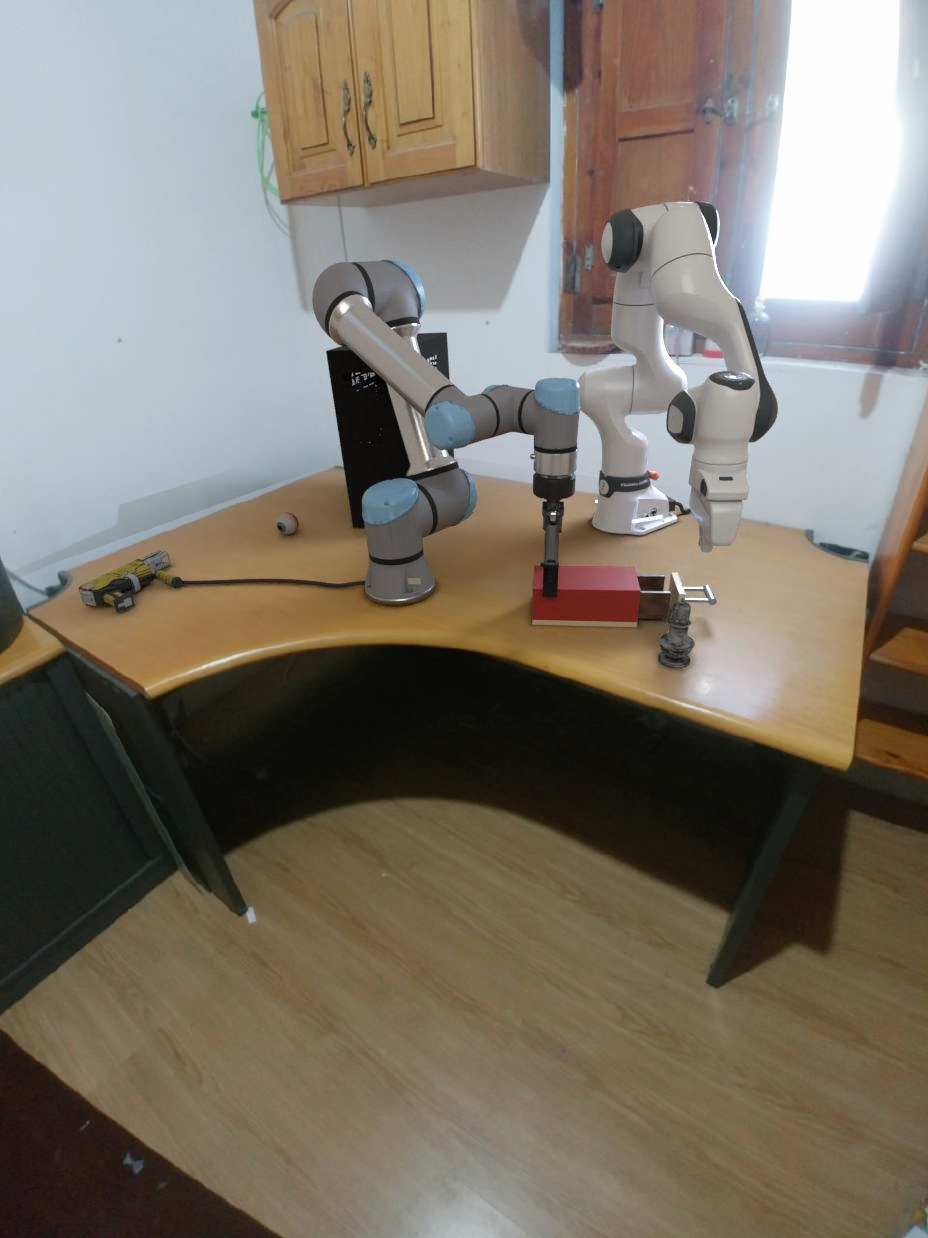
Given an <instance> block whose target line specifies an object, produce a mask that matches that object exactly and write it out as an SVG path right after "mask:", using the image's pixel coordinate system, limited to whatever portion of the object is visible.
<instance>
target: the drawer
mask: <svg viewBox="0 0 928 1238" xmlns="http://www.w3.org/2000/svg"><path fill="white" fill-rule="evenodd" d="M636 574H637V573H636ZM637 578H638V582H639V586H640V590H641V593H640V603H639V612H638V619H653V620H654V619H657V620H659V619H661V620H668V619H669V618H668V617H669V611H671V612H672V607H673V604H674V603H676V602H679V601H681V599H682V598H684V599H685V601H684V602H687V603H702V604H703V603H706V604H709V606H715V605H716V604H717V601H718V600H717V598H716V596H715V593H714V592H713V590H712V588H711V586H710V584H705V585H703V586H683V583H682V580H681V577H680V575H679V572H677V571H675V572H673V571H671V572H670V579H669V586H668V591H667V590H665V591H664V588H665V581H666V575H665V574H637ZM686 592H703V595H704V597H705V598H703V597H700V598H698V597H695V598H694V597H686V596H687V593H686ZM669 608H670V609H669Z"/></svg>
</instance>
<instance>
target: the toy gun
mask: <svg viewBox="0 0 928 1238" xmlns="http://www.w3.org/2000/svg"><path fill="white" fill-rule="evenodd" d="M166 558H167V559H168V562H167V561H163V559H166ZM171 564H172V563H171V558H170V554H169V552H168V551H166V550H163V551H162V550H161V549H159V550H156V551H155V552H153V553H150V554H148V555H145V556H143V557H142V558H136V559H135V560H133V561H130V562H129V563H126V564H124V565H122V566H120V567H118V568H115V569H113V570H111V571H109V572H107V573H104V574H102V575H101V576H97V577H96V578H93V579H91V580H89V581H87V582H85V583H83V584H81V585H79V586H78V592H79V595H80V599H81V602H82V603H83V604H84V605H85V607H89V608H93V607H105V606H108V605H111V606H112V607H114V610H115V613H116V614H119V613H122V612H124V611H127V610H129V609H131V608H134V607H136V606H135V605H136V604H135V601H134V596H133V595H134V594H136V593H138V592H139V591H141V587H142V586H145V585H147V584H150V583H154V581H155V580H157V581H160V582H162V583H164V584H165V583H167V584H166V585H168V586H172V588H175V589H177V588H180V587H181V586H182V585H183V584H182V581H183V579H182V578H181V577H180V576H175V575H174V574H170V573H168V572H167V571H164V568H166V567H169V566H171Z"/></svg>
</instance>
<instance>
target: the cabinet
mask: <svg viewBox="0 0 928 1238" xmlns="http://www.w3.org/2000/svg"><path fill="white" fill-rule="evenodd" d="M533 566H534V567H533V580H532V606H531V607H532V609H531V610H532V611H531V613H532V617H531V625H532V626H567V627H568V626H570V627H572V626H573V627H579V626H580V627H607V628H608V627H611V628H638V621H639V618H638V612H639V603H640V593H641V590H640V586H639V582H638V578H637V571H636V567H635V566H633V565H632V566H631V565H630V566H625V565H624V566H623V565H621V566H620V565H616V566H615V565H559V569H558V590H557V597H542V595H543V566H540V564H539V565H538V564H536V565H533Z"/></svg>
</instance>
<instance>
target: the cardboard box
mask: <svg viewBox="0 0 928 1238" xmlns="http://www.w3.org/2000/svg"><path fill="white" fill-rule="evenodd" d="M417 342H418V346H419V349H420V353H421V355H422V356H423V357H424V358H425V359H426V360H427V361H428V362H429V363H431V364H432V365H433V366H434V367H435V368H436V369H437V370H438V371H439V372H441V373H442V374H443V375H444V376H445V377H446V378H447V379H448V380H450V364H449V363H450V362H449V361H450V360H449V344H448V332H446V331H445V332H444V331H443V332H422V333H421V332H420V333H419V332H418V334H417ZM325 354H326V361H327V366H328V374H329V381H330V386H331V392H332V400H333V406H334V407H333V408H334V412H335V421H336V426H337V432H338V439H339V446H340V452H341V459H342V465H343V473H344V478H345V484H346V492H347V499H348V504H349V510H350V517H351V524H352V528H364V529H365V525H364V520H363V517H362V498H363V495H364V493H365V492H366V491H367V490H368V489H369V488H370V487H371V486H373V485H375V484H377V483H379V482H382V481H386V480H393V479H397V478H405V479H407V478H406V473H407V471H408V469H409V467H410V463H409V460H408V456H407V453H406V449H405V446H404V442H403V439H402V436H401V432H400V429H399V425H398V422H397V419H396V415H395V412H394V408H393V405H392V402H391V398H390V395H389V391H388V388H387V384H386V382H385V381H384V380H383V379H382V378H381V377H380V376H379V375H378V374H377V373H376V372H375V371H373V370H372V369H371V368H370V367H369V366H368V365H367V364H366V363H365V362H364V361H363V360H362V359H361V358H360V357H359V356H357V355H356V354H355V353H354V352H353V351H352V350H351V349H350V348H349V347H348V346H338V347H334V348H331V349H328V350H325ZM430 358H431V359H430ZM450 381H451V380H450ZM447 452H448V454H449V455H450V456H451V457H453V458H455V449H451V450H447Z"/></svg>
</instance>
